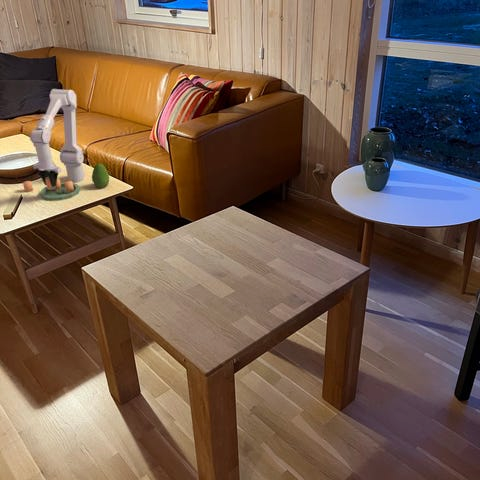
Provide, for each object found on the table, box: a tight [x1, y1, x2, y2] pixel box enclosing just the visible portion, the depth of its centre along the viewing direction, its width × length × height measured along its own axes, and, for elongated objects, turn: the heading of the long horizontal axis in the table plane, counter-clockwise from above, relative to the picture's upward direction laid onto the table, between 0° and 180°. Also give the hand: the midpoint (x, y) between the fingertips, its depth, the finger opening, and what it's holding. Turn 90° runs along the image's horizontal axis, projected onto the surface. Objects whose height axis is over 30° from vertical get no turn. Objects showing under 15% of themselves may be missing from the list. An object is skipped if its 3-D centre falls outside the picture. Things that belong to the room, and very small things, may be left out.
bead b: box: [54, 177, 62, 191], centre depth 219 cm, size 4×4×5 cm
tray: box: [39, 182, 81, 201], centre depth 217 cm, size 17×17×2 cm
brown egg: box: [22, 180, 34, 193], centre depth 218 cm, size 4×4×5 cm
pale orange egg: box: [45, 177, 56, 190], centre depth 210 cm, size 4×4×5 cm
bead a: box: [63, 180, 74, 194], centre depth 216 cm, size 4×4×5 cm
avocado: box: [91, 163, 110, 189], centre depth 221 cm, size 8×8×12 cm
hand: (51, 185), depth 211 cm, fingers closed on pale orange egg, 4 cm apart
